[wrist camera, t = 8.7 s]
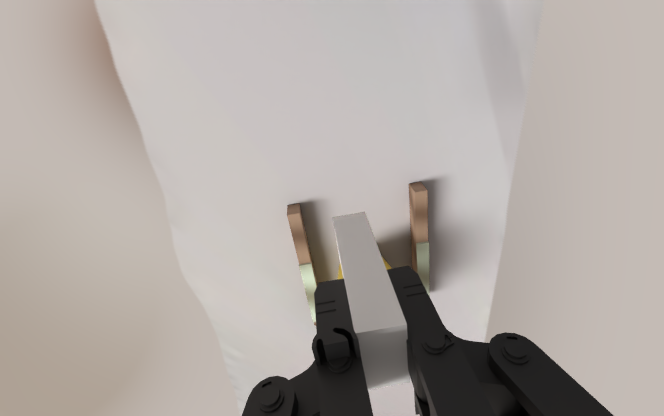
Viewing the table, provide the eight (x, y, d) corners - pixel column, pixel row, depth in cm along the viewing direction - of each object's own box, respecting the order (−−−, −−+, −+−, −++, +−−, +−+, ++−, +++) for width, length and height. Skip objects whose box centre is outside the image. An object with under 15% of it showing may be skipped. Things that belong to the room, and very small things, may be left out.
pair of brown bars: (287, 205, 42) (286, 216, 39) (420, 181, 42) (428, 191, 40) (313, 312, 51) (314, 327, 49) (423, 292, 51) (429, 306, 49)
